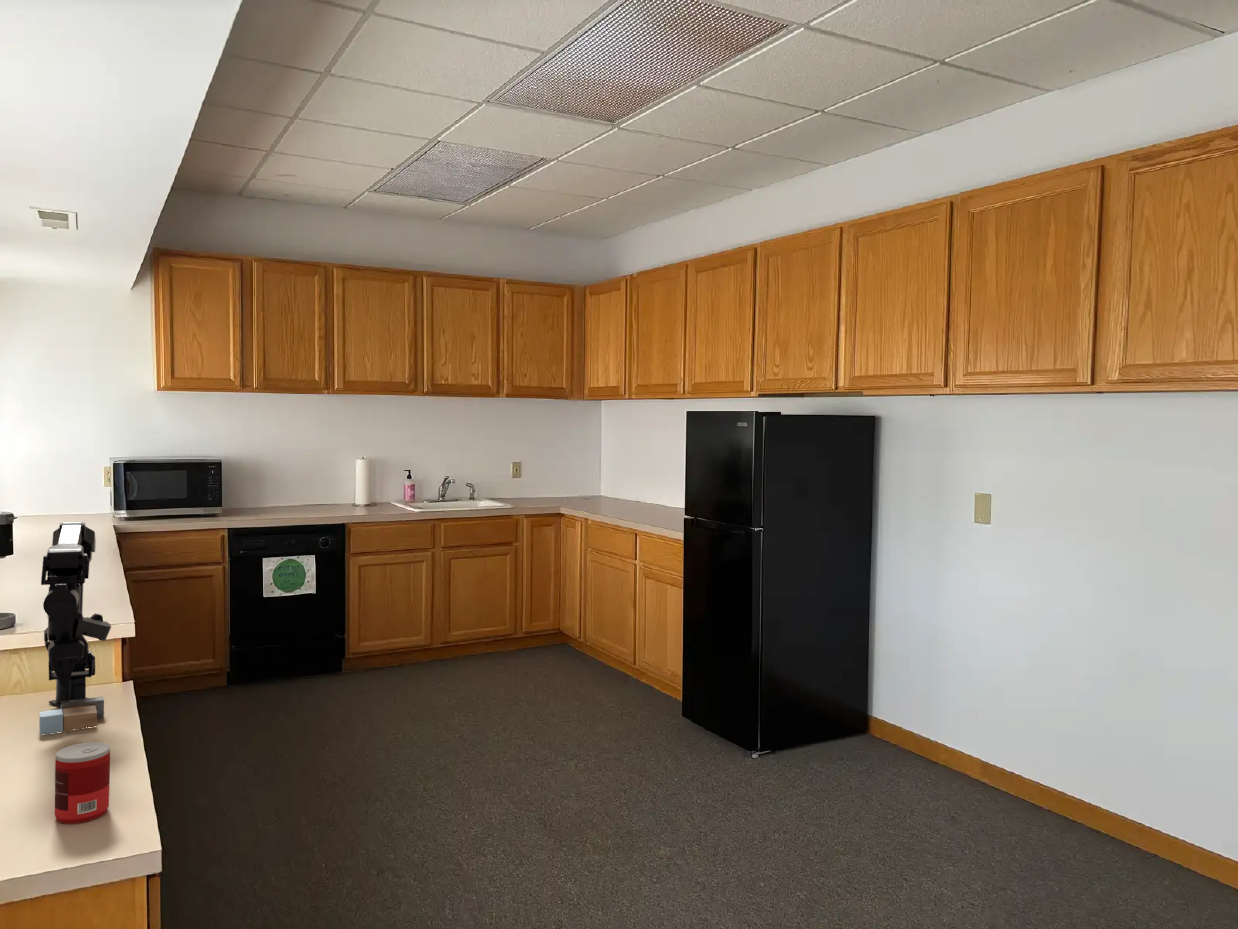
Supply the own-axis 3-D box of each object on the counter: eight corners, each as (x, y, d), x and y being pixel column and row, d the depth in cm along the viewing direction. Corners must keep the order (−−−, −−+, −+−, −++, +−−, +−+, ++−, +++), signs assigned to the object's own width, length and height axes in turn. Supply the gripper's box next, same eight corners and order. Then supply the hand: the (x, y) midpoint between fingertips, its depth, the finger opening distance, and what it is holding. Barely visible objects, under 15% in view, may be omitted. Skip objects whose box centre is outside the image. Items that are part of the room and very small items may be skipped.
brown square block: (62, 724, 193) (63, 708, 193) (94, 720, 196) (95, 704, 196) (63, 733, 188) (64, 716, 188) (96, 728, 191) (96, 712, 191)
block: (39, 730, 188) (39, 711, 188) (61, 727, 190) (61, 709, 190) (39, 736, 185) (40, 717, 185) (62, 733, 187) (62, 714, 187)
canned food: (119, 806, 153) (120, 743, 153) (86, 826, 145) (88, 760, 145) (77, 803, 154) (78, 740, 153) (43, 823, 146) (44, 757, 145)
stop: (60, 719, 195) (60, 701, 195) (102, 714, 199) (103, 696, 199) (61, 723, 192) (61, 705, 192) (103, 718, 197) (104, 700, 197)
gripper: (113, 613, 184) (112, 688, 184) (103, 596, 199) (102, 665, 200) (49, 618, 177) (48, 695, 178) (44, 600, 192) (43, 672, 193)
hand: (63, 681), depth 187 cm, fingers open, 9 cm apart
